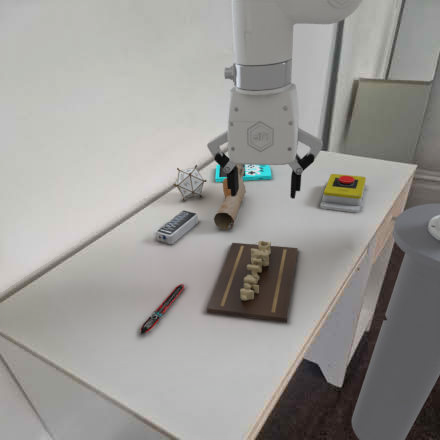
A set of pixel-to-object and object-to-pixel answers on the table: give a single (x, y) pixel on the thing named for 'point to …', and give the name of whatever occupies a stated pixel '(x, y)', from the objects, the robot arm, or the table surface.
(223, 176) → the handheld game console
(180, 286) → the pen
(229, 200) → the mannequin hand
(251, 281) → the decorative script
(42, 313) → the table surface
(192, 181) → the game die
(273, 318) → the board
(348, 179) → the emergency button
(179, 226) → the multiport hub
